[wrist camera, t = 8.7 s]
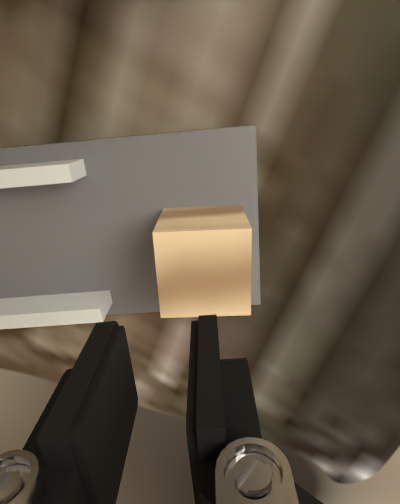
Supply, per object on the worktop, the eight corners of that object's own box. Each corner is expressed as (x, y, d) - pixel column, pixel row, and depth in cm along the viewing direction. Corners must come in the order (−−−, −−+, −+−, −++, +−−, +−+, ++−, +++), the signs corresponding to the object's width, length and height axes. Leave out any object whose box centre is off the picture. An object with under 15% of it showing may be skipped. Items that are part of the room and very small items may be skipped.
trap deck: (-124, 159, 23) (-197, 168, 19) (251, 124, 22) (262, 126, 18) (-60, 314, 27) (-108, 349, 23) (256, 291, 26) (266, 323, 22)
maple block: (163, 208, 22) (152, 232, 17) (241, 205, 22) (251, 228, 17) (168, 278, 24) (160, 317, 19) (241, 276, 24) (250, 315, 19)
